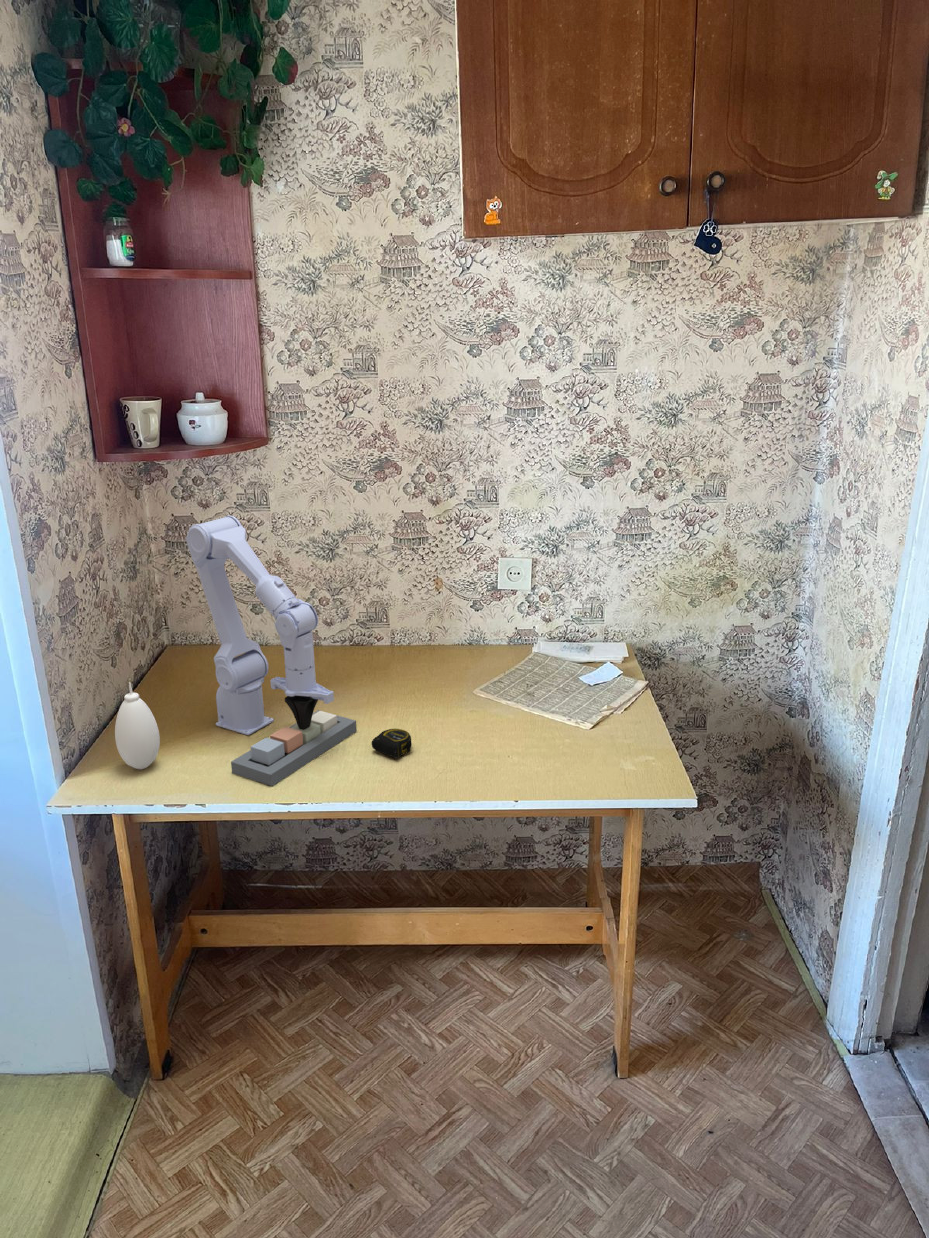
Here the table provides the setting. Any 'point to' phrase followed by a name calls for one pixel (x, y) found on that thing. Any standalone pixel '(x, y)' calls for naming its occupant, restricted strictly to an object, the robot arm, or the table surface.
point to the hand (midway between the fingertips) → (304, 727)
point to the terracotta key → (288, 738)
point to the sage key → (309, 732)
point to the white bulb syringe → (136, 732)
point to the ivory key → (324, 720)
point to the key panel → (293, 755)
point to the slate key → (267, 751)
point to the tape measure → (392, 742)
